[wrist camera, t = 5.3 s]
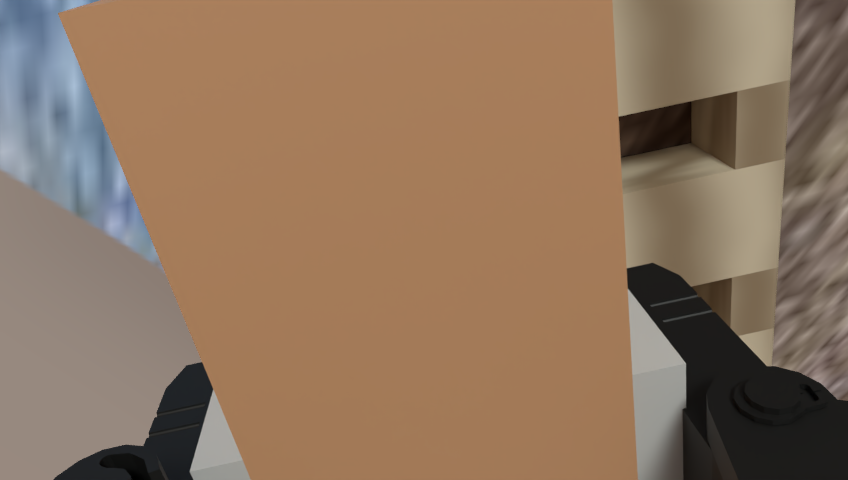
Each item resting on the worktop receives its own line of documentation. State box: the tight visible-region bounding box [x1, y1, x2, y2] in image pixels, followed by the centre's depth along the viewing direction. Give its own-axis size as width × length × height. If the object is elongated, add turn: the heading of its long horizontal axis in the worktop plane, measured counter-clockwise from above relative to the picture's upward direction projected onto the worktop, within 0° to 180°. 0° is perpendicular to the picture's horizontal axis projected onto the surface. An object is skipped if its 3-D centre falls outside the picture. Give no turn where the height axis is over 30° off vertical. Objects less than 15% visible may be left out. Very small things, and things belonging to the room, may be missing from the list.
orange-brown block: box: [58, 0, 638, 480], centre depth 12 cm, size 12×4×10 cm, turn 10°
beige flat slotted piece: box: [612, 0, 795, 366], centre depth 32 cm, size 10×22×4 cm, turn 10°
